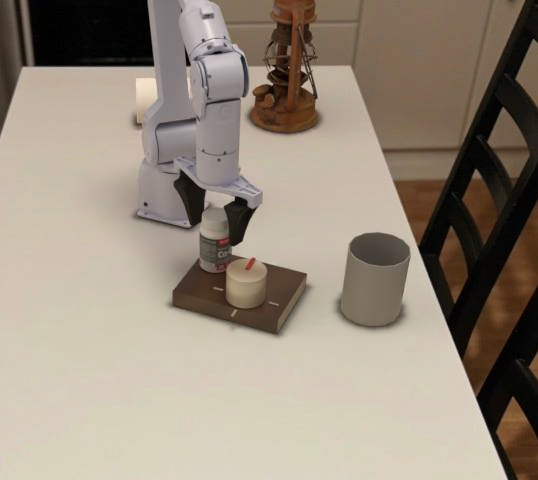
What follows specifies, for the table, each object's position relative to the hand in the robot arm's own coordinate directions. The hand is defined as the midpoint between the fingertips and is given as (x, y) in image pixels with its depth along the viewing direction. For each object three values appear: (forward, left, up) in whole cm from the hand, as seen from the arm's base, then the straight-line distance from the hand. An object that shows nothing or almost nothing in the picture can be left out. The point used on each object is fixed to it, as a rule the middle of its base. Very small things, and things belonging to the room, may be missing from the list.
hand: (216, 233), depth 130 cm
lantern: (-9, +53, -8) cm, 55 cm away
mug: (-30, +44, -8) cm, 54 cm away
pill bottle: (0, 0, -6) cm, 6 cm away
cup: (+23, +2, -8) cm, 25 cm away
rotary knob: (+7, -6, -5) cm, 10 cm away
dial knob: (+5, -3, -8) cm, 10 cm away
